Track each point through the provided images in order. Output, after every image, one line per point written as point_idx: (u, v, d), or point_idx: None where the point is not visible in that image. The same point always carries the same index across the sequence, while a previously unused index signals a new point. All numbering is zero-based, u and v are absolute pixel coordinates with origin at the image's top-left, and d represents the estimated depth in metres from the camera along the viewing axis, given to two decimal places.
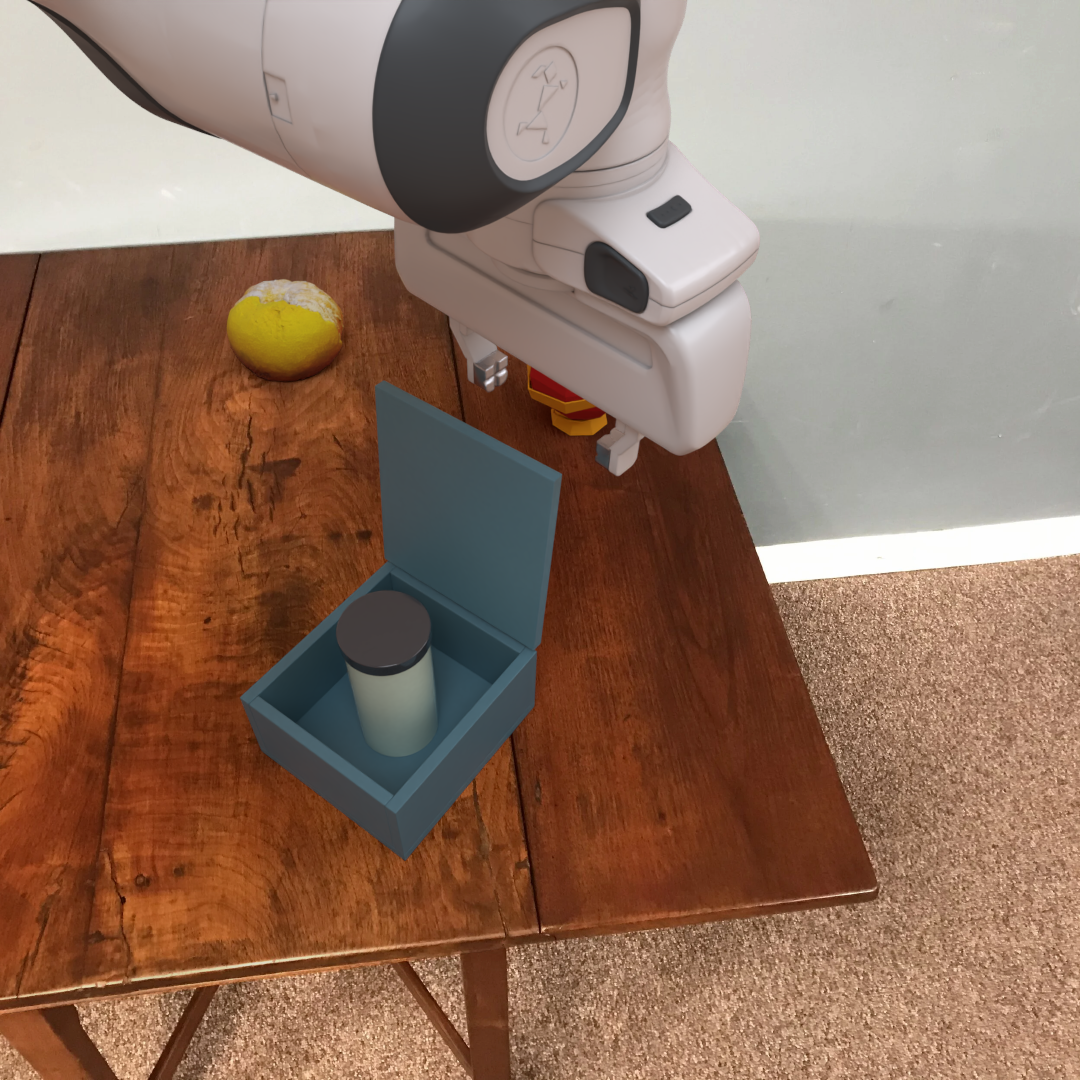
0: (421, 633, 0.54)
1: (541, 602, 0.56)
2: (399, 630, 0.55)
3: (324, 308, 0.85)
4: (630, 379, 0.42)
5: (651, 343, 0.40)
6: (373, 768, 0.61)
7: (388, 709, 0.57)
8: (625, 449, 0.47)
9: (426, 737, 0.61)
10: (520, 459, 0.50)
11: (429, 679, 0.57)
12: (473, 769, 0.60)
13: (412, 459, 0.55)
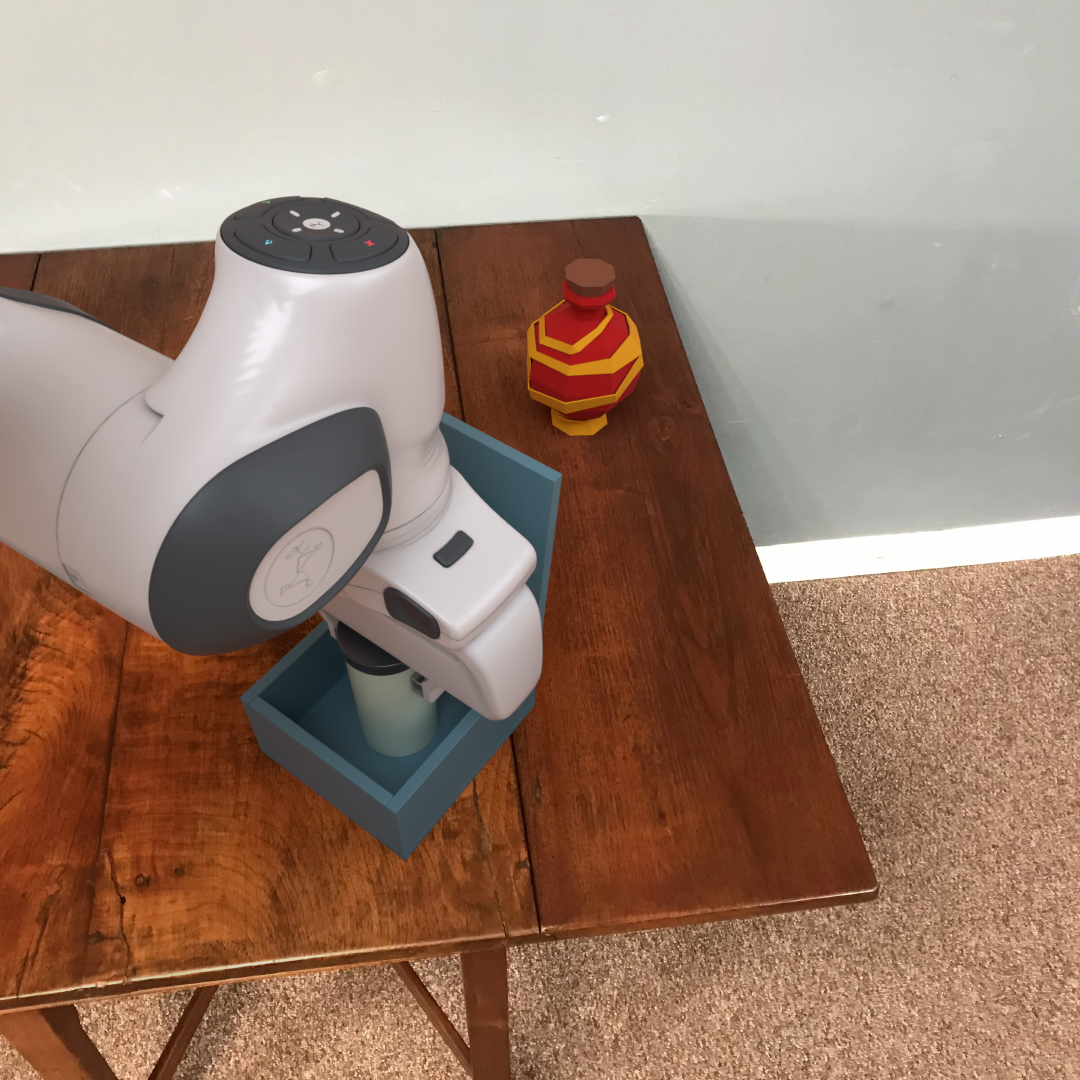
0: None
1: (541, 602, 0.56)
2: None
3: None
4: (443, 664, 0.48)
5: None
6: (373, 768, 0.61)
7: (388, 708, 0.57)
8: (432, 688, 0.53)
9: (426, 737, 0.61)
10: (520, 459, 0.50)
11: None
12: (473, 769, 0.60)
13: None
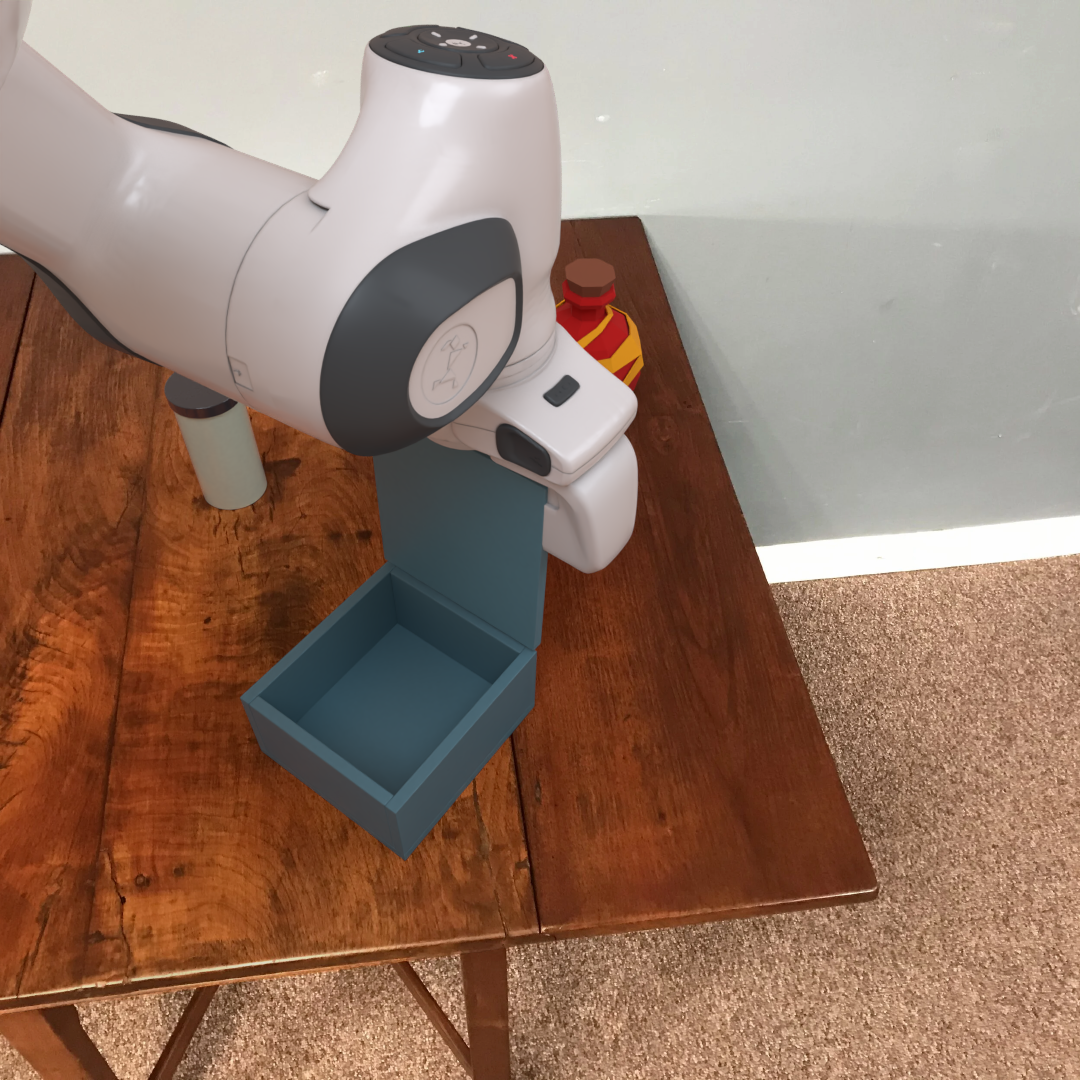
0: None
1: (539, 605, 0.56)
2: None
3: None
4: None
5: (556, 491, 0.48)
6: (373, 768, 0.61)
7: (211, 455, 0.71)
8: None
9: (252, 493, 0.76)
10: None
11: (245, 434, 0.72)
12: (473, 769, 0.60)
13: (406, 464, 0.55)
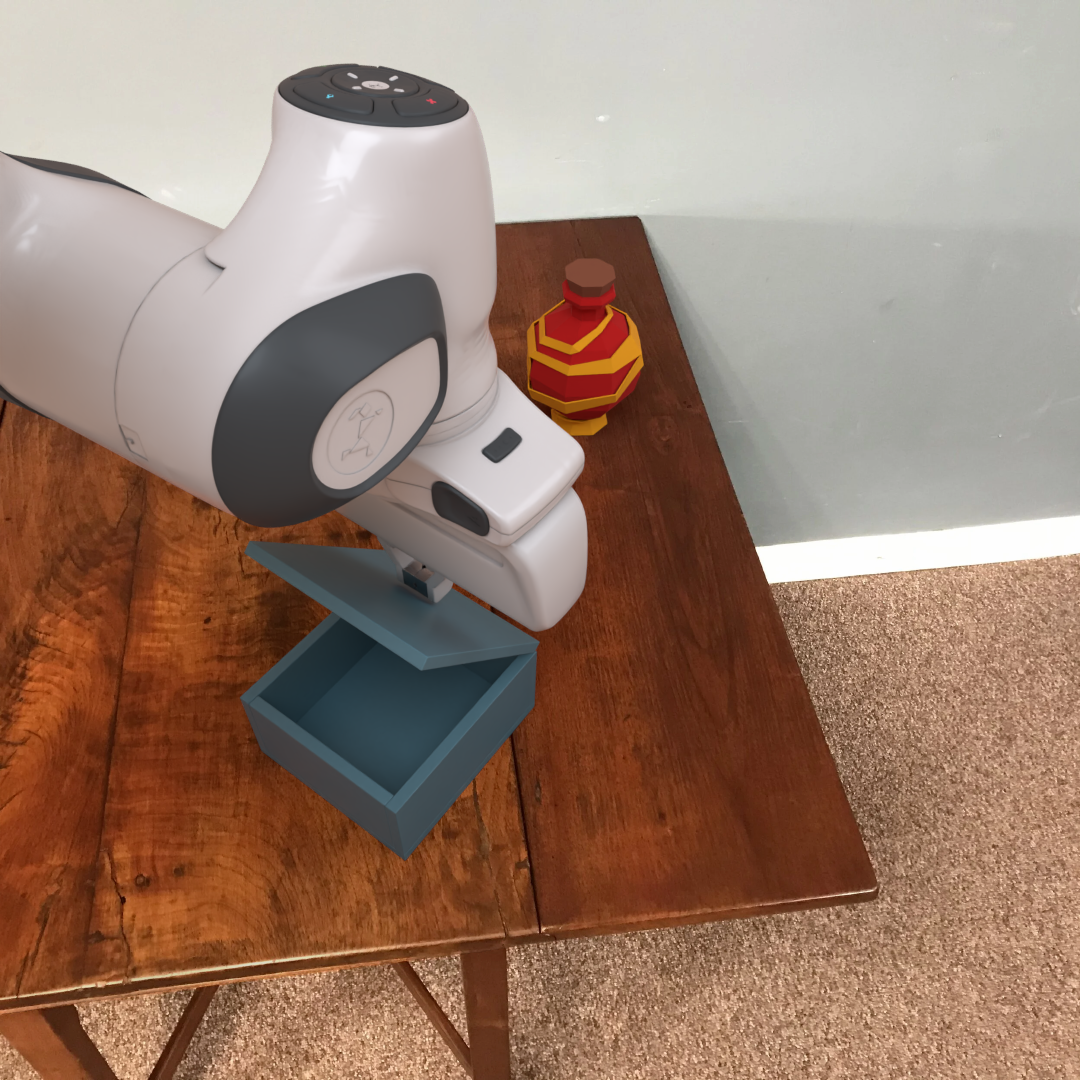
0: None
1: (507, 654, 0.55)
2: None
3: None
4: (487, 572, 0.48)
5: None
6: (373, 768, 0.61)
7: None
8: (437, 584, 0.54)
9: None
10: (387, 641, 0.47)
11: None
12: (473, 769, 0.60)
13: None
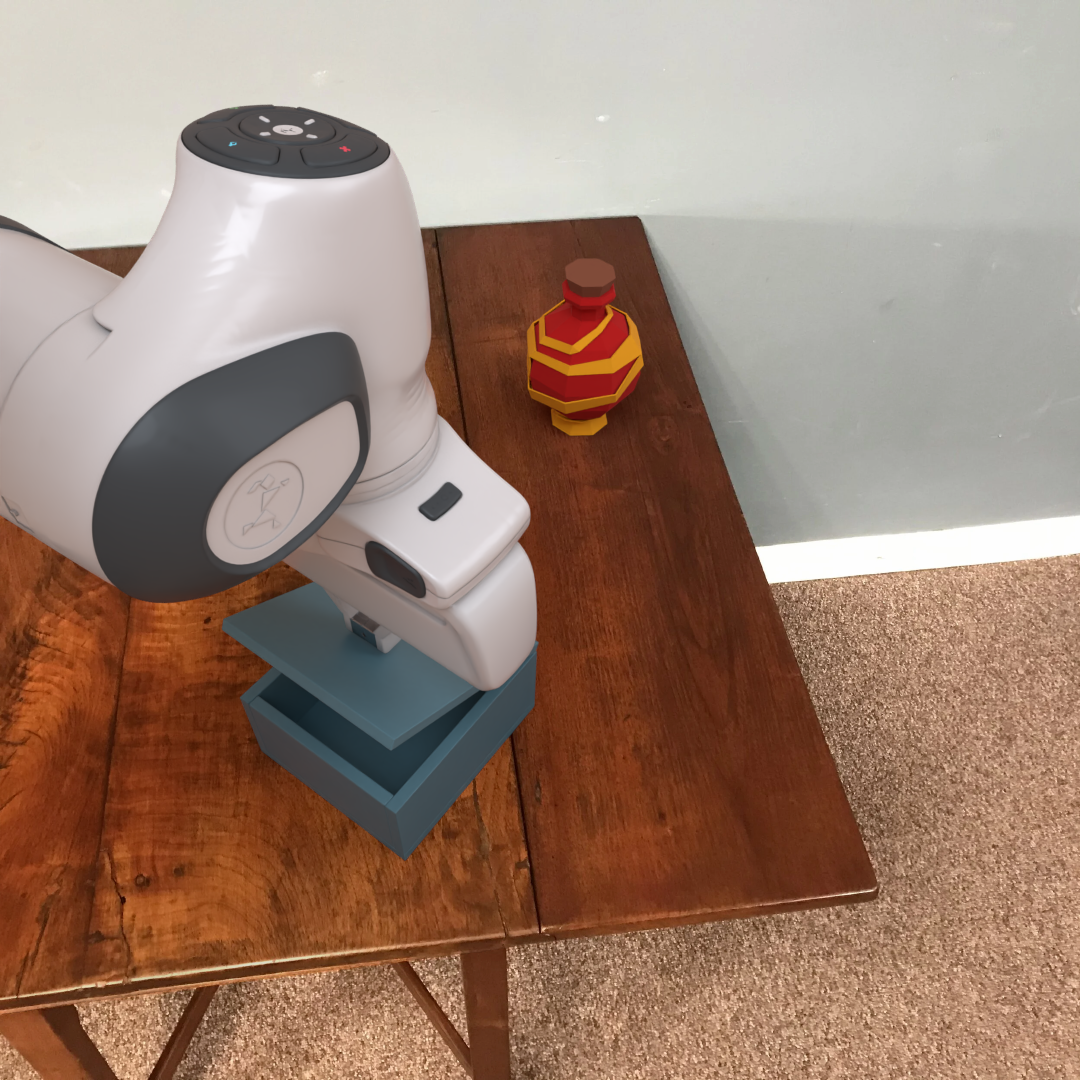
0: None
1: None
2: None
3: None
4: (430, 629, 0.45)
5: None
6: (373, 768, 0.61)
7: None
8: (385, 635, 0.51)
9: None
10: (357, 721, 0.49)
11: None
12: (473, 769, 0.60)
13: None
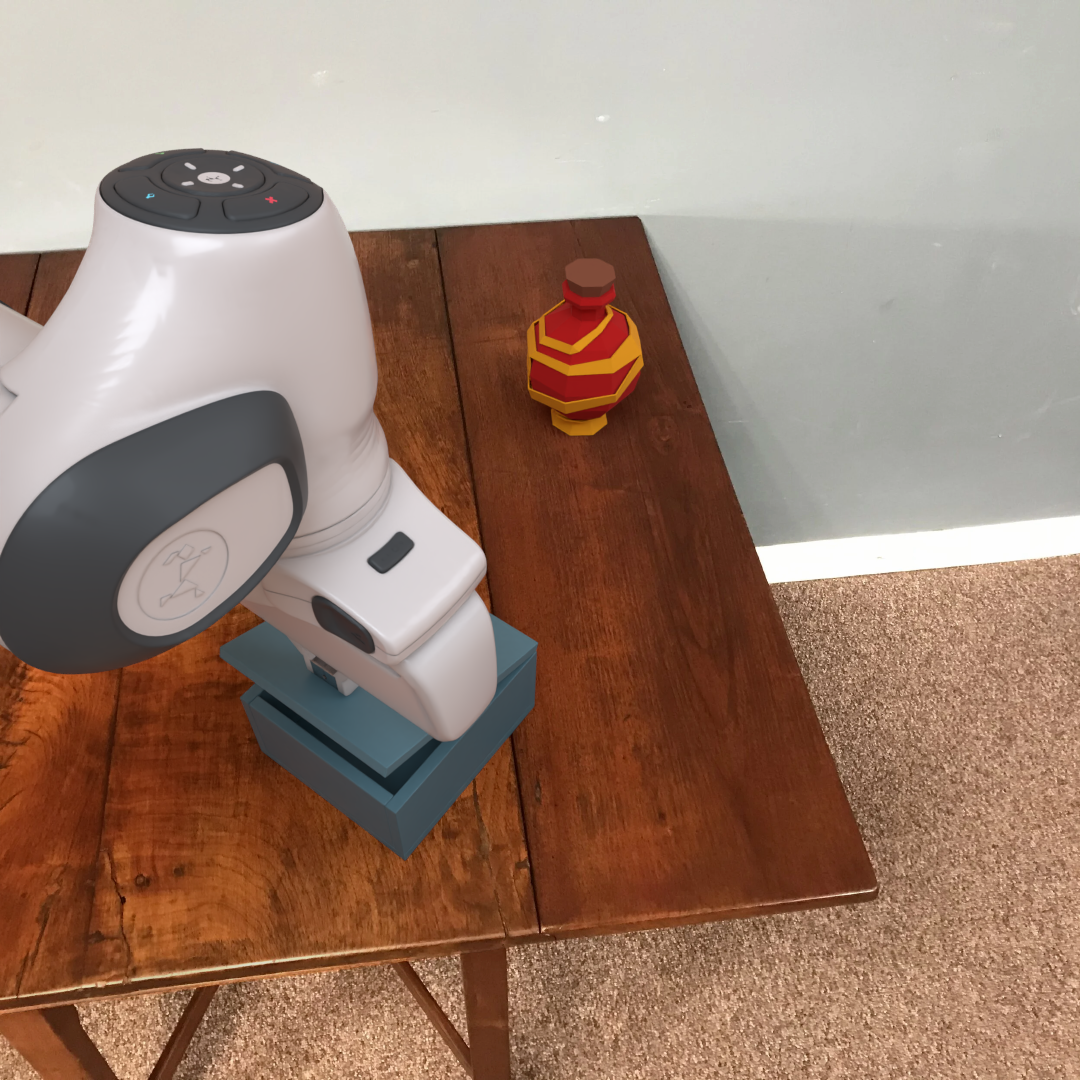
0: None
1: None
2: None
3: None
4: (386, 679, 0.44)
5: None
6: None
7: None
8: (344, 679, 0.50)
9: None
10: (351, 749, 0.50)
11: None
12: (473, 769, 0.60)
13: None
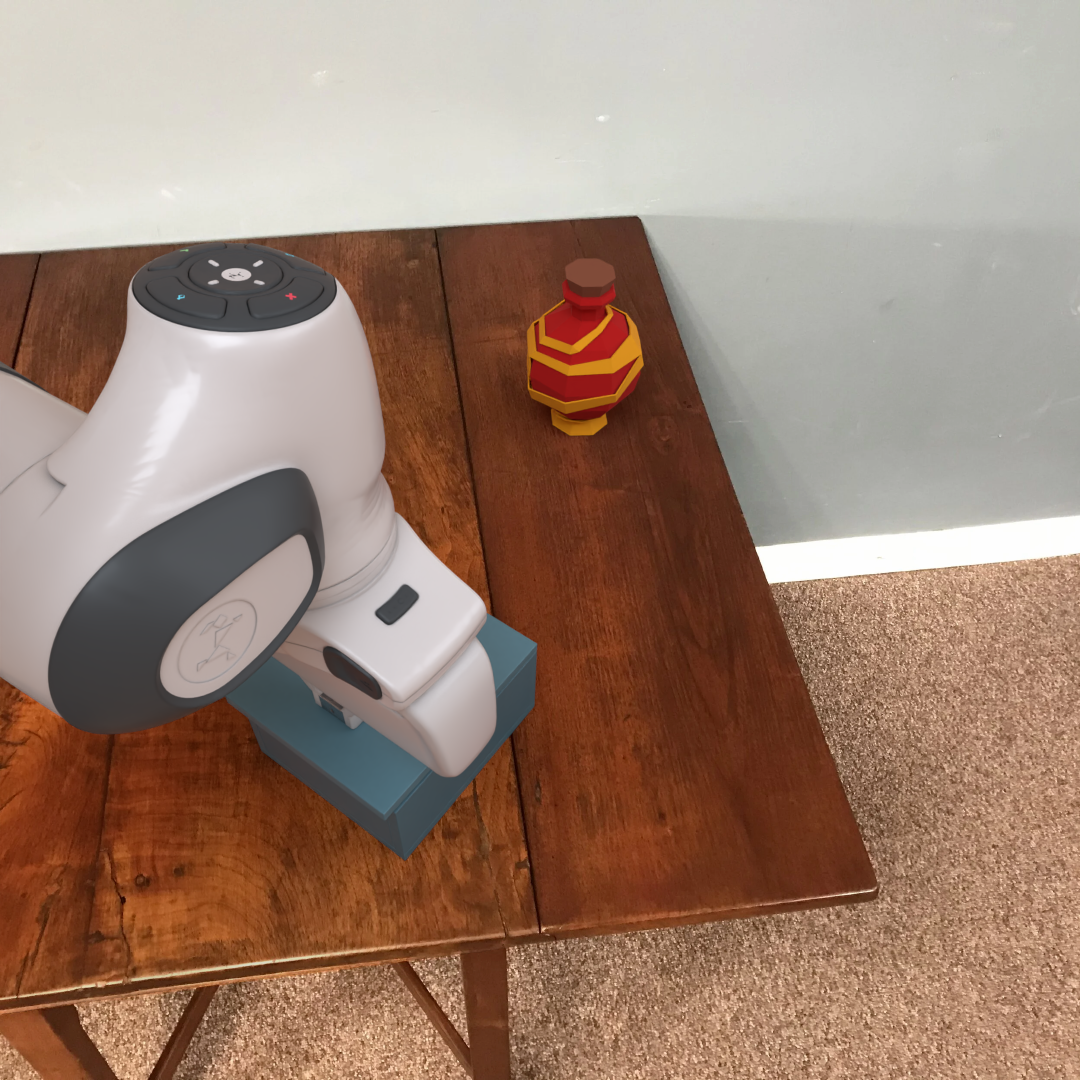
0: None
1: None
2: None
3: None
4: (392, 719, 0.46)
5: None
6: None
7: None
8: (352, 715, 0.52)
9: None
10: (352, 794, 0.52)
11: None
12: (473, 769, 0.60)
13: None
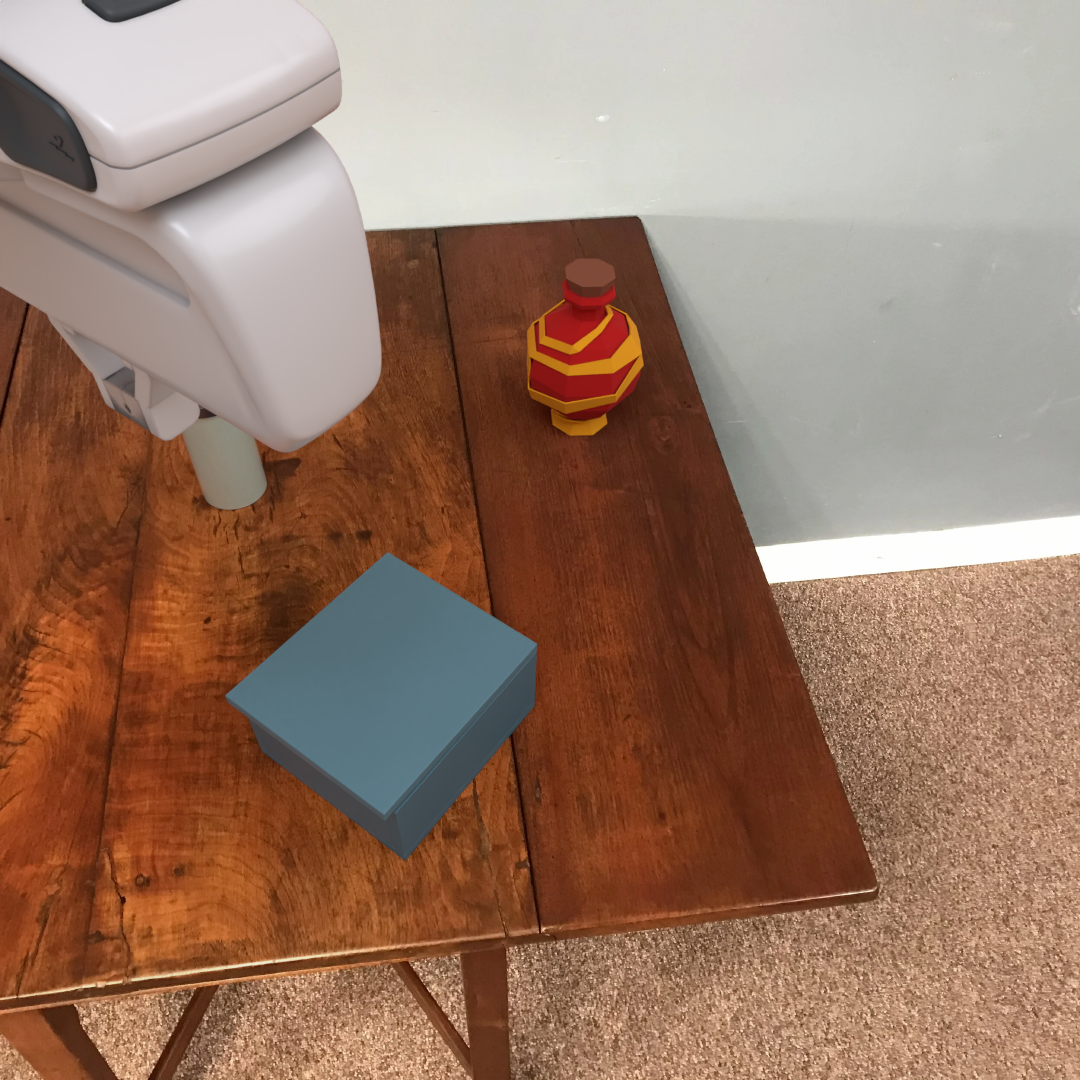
0: None
1: (494, 696, 0.57)
2: None
3: None
4: (174, 327, 0.24)
5: None
6: None
7: (211, 455, 0.71)
8: (148, 396, 0.30)
9: (252, 493, 0.76)
10: (352, 794, 0.52)
11: (245, 434, 0.72)
12: (473, 769, 0.60)
13: None
